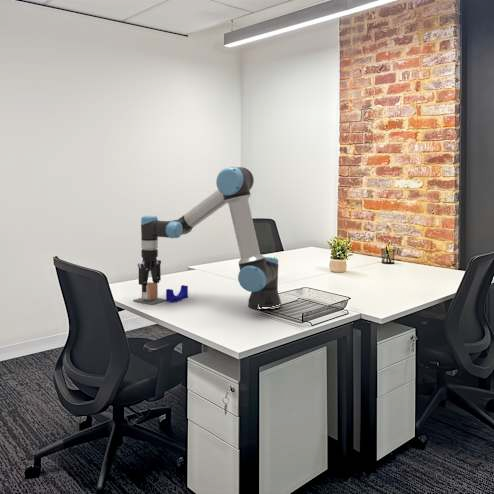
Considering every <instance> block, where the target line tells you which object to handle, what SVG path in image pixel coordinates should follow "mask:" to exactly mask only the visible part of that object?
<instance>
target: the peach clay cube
mask: <svg viewBox="0 0 494 494" xmlns="http://www.w3.org/2000/svg"><path fill="white" fill-rule="evenodd" d="M158 284H159V283H152V281H151V282H150V281H149V282H148V281H147V285H148V300H151V299H155V298H159V295H158V288H159V287H158ZM141 298H143V292H142V291H141Z"/></svg>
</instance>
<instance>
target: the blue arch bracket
mask: <svg viewBox="0 0 494 494" xmlns="http://www.w3.org/2000/svg"><path fill="white" fill-rule="evenodd" d="M188 290H189V285H184V284H183V285H181V286H180V290H179V292H178V294H177V295H175V294H174V289H170V288H166V289H165V294H166V295H165V297H166V298H165V299H166V301H165V302H168V303H173V304H174V303H178V302H181V301H182V300H184V299H188V298H189V291H188Z"/></svg>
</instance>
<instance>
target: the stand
mask: <svg viewBox="0 0 494 494" xmlns="http://www.w3.org/2000/svg"><path fill="white" fill-rule="evenodd" d="M132 301H133V302H136V303H140V304H145V305H151V306H154V305H157V304H160V303H164V302H167V301H166V298H160V297H158V298H155V299H151V300H148V299H143V298H142V297H139V298H136V299H133V300H132Z"/></svg>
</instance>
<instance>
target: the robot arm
mask: <svg viewBox="0 0 494 494" xmlns="http://www.w3.org/2000/svg"><path fill="white" fill-rule="evenodd" d="M254 181H255V180H254V175H253V173H252V172H251V171H250V169H248V168H245V167H242V166H240V167H239V166H229V167H225V168H223V169H222V170H221V171H220V172H219V173H218V175H217V177H216V182H215V185H216V187H217V190H215V191H214V192H213V193H211V194H210V195H208V196H207V197H206V198H204V199H203V200H202V201H201V202H199V203H198V204H197V205H195V206H194V207H192V208H191V209H190V210H188V212H186V213H185V214H184V215H182V216H180V217H179V218H177V219H173V220H159V219H158V216H157V215H143V216H141V219H140V220H141V222H140V233H141V238H140V239H141V240H140V242H141V243H140V244H141V246H140V247H141V258H142V262H141V263H138V264H137V267H138V285H141V293H142V292H143V299H148V285H147V283H148V281H149V280H148V279H149V274H150V275H151V280H152V281H151V283H157V284H160V281H161V277H162V276H161V275H162V274H161V272H162V271H161V266H162V265H161V263H162V260H160V259H157V258H158V256H159V250H158V247H159V242H158V241H159V238H167V239H169V238H170V239H178V238H180V237H181V236H183V235H187V234H189V233H191V232H192V230H193V228H195V227H197V225H199V224H201V223H202V222H203V221H204V220H206V219H207V218H209V217H211V215H213V214H214V213H215V212H217V211H219V210H220V209H221V208H223V207H224V206H225V205H228V207H229V212H230V216H231V220H232V224H233V225H232V226H233V228H234V229H233V230H234V233H235V234H234V235H235V237H236V243H237V247H238V252H239V255H240V259H239V260H238V267H239V272H238V275H237V281H238V283H239V285H240V287H241V288H242V289H244V290H245V291H246V292H250V295H249V297H248V301H247V303H248V304H247V306H248V307H249V308H250V309H253V310H257V307H258V304H259V307H260V308H262V307H272V306H276V305H279V304H281V305H282V301H281V298H280V294H279V290H278V285H279V267H280V266H279V260H278V258H277V257H271V256H270V257H268V256H264V255H262V254H261V252H260V247H259V242H258V237H257V233H256V229H255V225H254V224H255V223H254V221H253V216H252V212H251V207H250V204H249V203H250V201H249V198H251V192H250V190H251V189H252V187H254Z"/></svg>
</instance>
